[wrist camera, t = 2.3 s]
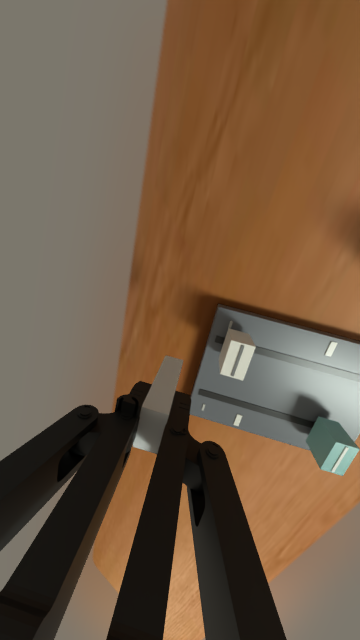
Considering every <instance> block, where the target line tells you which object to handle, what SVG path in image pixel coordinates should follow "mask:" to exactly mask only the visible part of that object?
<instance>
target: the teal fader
mask: <svg viewBox="0 0 360 640" xmlns="http://www.w3.org/2000/svg"><path fill="white" fill-rule="evenodd" d="M306 442H307V444H308V446H309V448H310V450H311V452H312V454H313V456H314V458H315V460H316V462H317V464H318V466H319V467H320V469H322V470H325V471H328V472H332V473H335V474H338V475H341V476H343V475H344V473H345V471H346V470H347V468H348V467H349V465H350V464H351V462H352V460H353V459H354V457H355V456H356V454H357V453H358V451H359V448H358V446H357V445H356V444H355V443H354V441H353V440H352V439H351V437H350V436H349V435H348V434H347V432H346V431H345V430H344V428H343V427H342V426H341V425H340V423H339V422H336V421H333V420H329V419H326V418H322V417H319V416H318V418H317V420H316V422H315V424H314V426H313V427H312V429H311V431H310V433H309V435H308V437H307V439H306Z"/></svg>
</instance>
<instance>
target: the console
mask: <svg viewBox="0 0 360 640" xmlns="http://www.w3.org/2000/svg"><path fill="white" fill-rule="evenodd" d="M228 328H229V329H233V330H237V331H240V332H244V333H248V334H249V335H250V337H251V339H252V341H253V342H254V344H255V346H256V348H255V350H254V353H253V356H252V358H251V361H250V364H249V366H248V369H247V372H246V374H245V377H244V380H243V381H242V380H239V379H236V378H232V377H229V376H225V375H222V374H220V367H219V356H220V353H221V349H222V346H223V343H224V340H225V337H226V334H227V331H228ZM190 398H191V408H190V414H191V415H194V416H197V417H201V418H204V419H207V420H211V421H214V422H217V423H221V424H224V425H227V426H231V427H234V428H237V429H240V430H244V431H247V432H250V433H254V434H257V435H260V436H264V437H267V438H270V439H274V440H277V441H280V442H283V443H287V444H290V445H293V446H297V447H300V448H303V449H307V450H310V448H309V446H308V444H307V442H306V439H307V437H308V435H309V433H310V431H311V429H312V427H313V426H314V424H315V422H316V420H317V418H318V416H319V417H322V418H326V419H329V420H333V421H336V422H339V423H340V425H341V426H342V427H343V428H344V430H345V431H346V432H347V434H348V435H349V436H350V437H351V439H352V440H353V441H354V442H355V440H356V439H357V437H358V435H359V434H360V341H357V340H353V339H349V338H346V337H342V336H338V335H334V334H331V333H327V332H323V331H319V330H315V329H312V328H308V327H304V326H300V325H297V324H293V323H289V322H285V321H282V320H278V319H274V318H270V317H266V316H263V315H259V314H255V313H251V312H248V311H244V310H240V309H236V308H232V307H229V306H225V305H221V304H218V306H217V309H216V313H215V316H214V319H213V323H212V326H211V329H210V332H209V336H208V339H207V342H206V346H205V349H204V352H203V356H202V359H201V362H200V366H199V369H198V372H197V376H196V379H195V382H194V386H193V389H192V392H191V396H190ZM310 451H311V450H310Z"/></svg>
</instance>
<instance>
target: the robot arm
mask: <svg viewBox="0 0 360 640" xmlns="http://www.w3.org/2000/svg"><path fill="white" fill-rule="evenodd" d="M182 364H183V360H180V359H177V358H173V357H170V356H165V358H164V360H163V362H162V364H161V367H160V369H159V371H158V373H157V375H156V377H155V379H154V382H153V384H149V383H145V382H142V381H139V382H138V383H136V384H135V385H134V387H133V388H132V390H131V392H130V394H128V395H122V396H120V397H119V398H118V399H117V403H116V408H115V412H114V413H109V414H102V413H99V412H98V409H97V408H96V407H94V406H91V405H82V406H79V407H77V408H75V409H73V410H72V411H71V412H69V413H68V414H66V415H65V416H64V417H62V418H61V419H59V420H58V421H56V422H55V423H54V424H53V425H51V426H50V427H48V428H47V429H45V430H44V431H42V432H41V433H40V434H38V435H37V436H35V437H34V438H32V439H31V440H30V441H28V442H27V443H25V444H24V445H23V446H21V447H20V448H18V449H17V450H16V451H14V452H13V453H11V454H10V455H9V456H7V457H5V458H4V459H3V460H1V461H0V551H1V550H2V549H3V548H4V547H5V546H6V545H7V544H8V543H9V542H10V541H11V539H12V538H13V537H14V536H15V535H16V534H17V533H18V532H19V531H20V530H21V529H22V528H23V527H24V526H25V525H26V524H27V523H28V522H29V520H31V519H32V517H33V516H34V515H35V514H36V513H37V512H38V511H39V510H40V509H41V508H42V507H43V506H44V505H45V504H46V503H47V501H49V500H50V499H51V498H52V497H53V495H54V494H55V493H56V492H57V491H58V490H59V489H60V488H61V487H62V486H63V485H64V484H65V483H66V482H67V481H68V480H69V479H70V478H71V477H72V476H73V475H74V473H75V472H76V471H77V470H78V471H77V473H76V474H75V476H74V477H73V479H72V480H71V482H70V484H69V485H68V487H67V488H66V490H65V492H64V493H63V495H62V496H61V498H60V500H59V501H58V503H57V504H56V506H55V508H54V509H53V511H52V512H51V514H50V516H49V517H48V519H47V520H46V522H45V524H44V525H43V527H42V528H41V530H40V531H39V533H38V535H37V536H36V538H35V539H34V541H33V543H32V544H31V546H30V547H29V549H28V551H27V552H26V554H25V555H24V557H23V559H22V560H21V562H20V563H19V565H18V567H17V568H16V570H15V571H14V573H13V574H12V576H11V577H10V579H9V581H8V582H7V584H6V585H5V587H4V588H3V590H2V591H1V592H0V640H54V638H55V636H56V633H57V630H58V628H59V626H60V623H61V621H62V618H63V616H64V614H65V611H66V609H67V606H68V604H69V601H70V599H71V597H72V594H73V592H74V589H75V587H76V584H77V582H78V579H79V577H80V575H81V572H82V570H83V567H84V565H85V562H86V560H87V558H88V555H89V553H90V550H91V548H92V545H93V543H94V540H95V538H96V536H97V533H98V531H99V528H100V526H101V523H102V521H103V519H104V516H105V514H106V511H107V509H108V506H109V504H110V502H111V499H112V497H113V494H114V492H115V489H116V487H117V484H118V482H119V480H120V477H121V475H122V472H123V470H124V467H125V465H126V463H127V460H128V458H129V455H130V451H131V447H132V445H133V447H136V448H139V449H143V450H146V451H149V452H152V453H155V454H157V457H156V461H155V464H154V468H153V472H152V475H151V479H150V483H149V486H148V490H147V494H146V497H145V501H144V504H143V508H142V512H141V515H140V519H139V523H138V526H137V530H136V534H135V537H134V541H133V544H132V548H131V552H130V555H129V559H128V563H127V566H126V570H125V574H124V577H123V581H122V585H121V588H120V592H119V596H118V599H117V603H116V606H115V610H114V614H113V617H112V621H111V625H110V628H109V632H108V636H107V639H106V640H163V633H164V625H165V617H166V609H167V601H168V594H169V586H170V578H171V570H172V562H173V554H174V546H175V538H176V530H177V522H178V514H179V506H180V498H181V490H182V482H183V483H184V484H185V485H187V493H188V501H189V509H190V517H191V525H192V533H193V541H194V549H195V557H196V565H197V573H198V581H199V590H200V598H201V606H202V614H203V622H204V630H205V638H206V640H287V639H286V637H285V633H284V630H283V627H282V624H281V622H280V618H279V615H278V612H277V610H276V606H275V603H274V600H273V597H272V594H271V591H270V588H269V585H268V582H267V579H266V576H265V573H264V570H263V567H262V564H261V561H260V558H259V555H258V552H257V549H256V546H255V543H254V540H253V537H252V534H251V531H250V528H249V525H248V522H247V519H246V515H245V512H244V509H243V506H242V503H241V500H240V497H239V494H238V491H237V488H236V485H235V482H234V479H233V476H232V473H231V470H230V467H229V464H228V461H227V458H226V455H225V452H224V451H223V449H222V448H221V447H220V446H219V445H218V444H216V443H215V442H212V441H205V442H203V443H202V444H201V443H199V442H198V441H196V440H195V439H194V438H193V437H192V436H191V435H190V433H189V431H188V423H189V416H190V408H191V398H190V396H189V395H188V394H185V393H181V392H178V391H175V390H176V386H177V383H178V379H179V375H180V371H181V368H182ZM133 442H134V443H133Z"/></svg>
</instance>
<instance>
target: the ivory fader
mask: <svg viewBox="0 0 360 640" xmlns="http://www.w3.org/2000/svg"><path fill="white" fill-rule="evenodd" d="M255 348H256V346H255V344H254V342H253V341H252V339H251V337H250V335H249V334H248V333H244V332H240V331H237V330H233V329H229V328H228V331H227V334H226V337H225V340H224V343H223V346H222V349H221V353H220V356H219V367H220V374H222V375H225V376H229V377H232V378H236V379H239V380H242V381H243V380H244V377H245V374H246V372H247V369H248V366H249V364H250V361H251V358H252V356H253V353H254V350H255Z"/></svg>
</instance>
